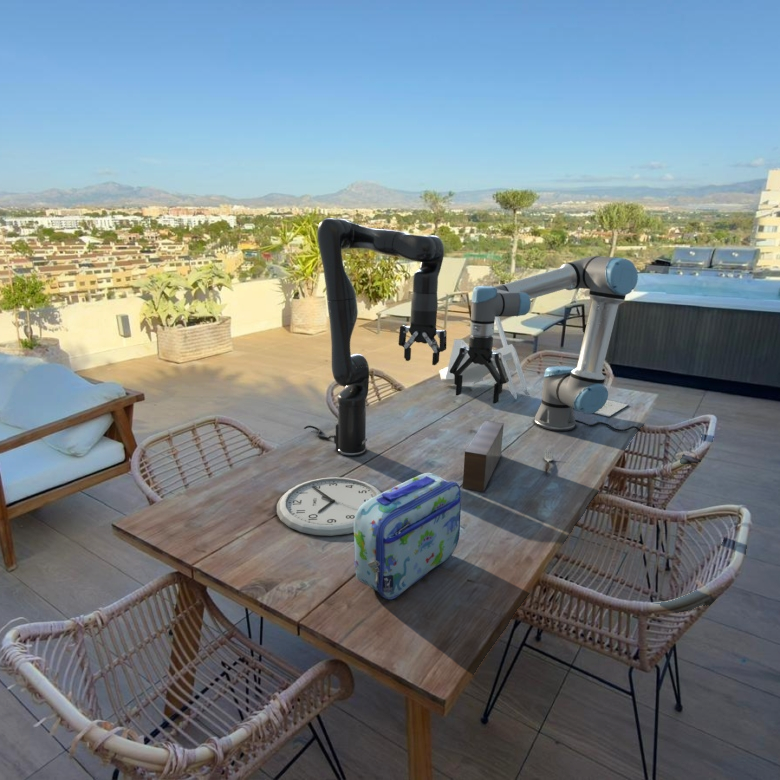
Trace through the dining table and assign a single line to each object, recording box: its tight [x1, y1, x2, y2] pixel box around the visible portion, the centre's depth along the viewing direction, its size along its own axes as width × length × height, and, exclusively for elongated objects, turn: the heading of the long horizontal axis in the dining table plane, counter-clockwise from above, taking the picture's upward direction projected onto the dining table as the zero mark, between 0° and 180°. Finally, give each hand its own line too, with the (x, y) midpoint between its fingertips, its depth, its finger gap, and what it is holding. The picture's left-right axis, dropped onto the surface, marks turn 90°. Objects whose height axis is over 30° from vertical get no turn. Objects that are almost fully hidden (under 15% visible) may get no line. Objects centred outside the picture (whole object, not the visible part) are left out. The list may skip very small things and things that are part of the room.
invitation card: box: [594, 399, 629, 418], centre depth 226 cm, size 21×1×15 cm
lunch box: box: [353, 472, 462, 600], centre depth 112 cm, size 26×11×21 cm, turn 134°
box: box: [462, 420, 504, 493], centre depth 163 cm, size 28×6×12 cm, turn 158°
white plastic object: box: [438, 316, 531, 400], centre depth 245 cm, size 37×45×31 cm
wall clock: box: [276, 476, 383, 537], centre depth 142 cm, size 30×2×30 cm
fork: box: [544, 449, 554, 474], centre depth 169 cm, size 3×16×2 cm, turn 160°
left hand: (421, 362), depth 155 cm, fingers open, 8 cm apart
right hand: (476, 398), depth 174 cm, fingers open, 13 cm apart
